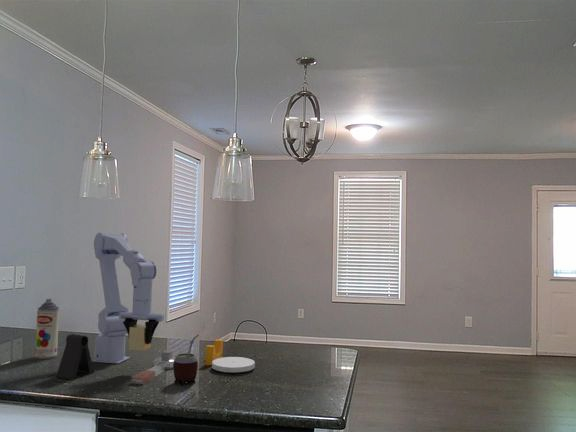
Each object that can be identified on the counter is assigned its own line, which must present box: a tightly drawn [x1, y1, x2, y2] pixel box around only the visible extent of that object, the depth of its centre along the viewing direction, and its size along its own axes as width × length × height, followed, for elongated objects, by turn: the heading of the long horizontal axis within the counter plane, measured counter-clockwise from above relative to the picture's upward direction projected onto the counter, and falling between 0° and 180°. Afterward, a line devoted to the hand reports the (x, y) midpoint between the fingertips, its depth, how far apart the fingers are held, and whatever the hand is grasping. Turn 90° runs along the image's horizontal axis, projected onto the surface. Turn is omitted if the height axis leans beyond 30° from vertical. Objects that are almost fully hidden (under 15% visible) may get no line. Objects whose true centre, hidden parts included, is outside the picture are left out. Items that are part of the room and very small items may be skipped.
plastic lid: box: [211, 356, 256, 373], centre depth 163 cm, size 14×14×2 cm
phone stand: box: [55, 333, 95, 381], centre depth 151 cm, size 9×6×12 cm, turn 156°
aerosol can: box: [34, 298, 60, 360], centre depth 171 cm, size 7×7×20 cm
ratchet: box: [130, 350, 176, 385], centre depth 155 cm, size 8×25×5 cm, turn 171°
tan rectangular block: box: [128, 324, 152, 352], centre depth 157 cm, size 5×5×7 cm
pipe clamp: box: [204, 338, 224, 366], centre depth 172 cm, size 12×4×6 cm, turn 172°
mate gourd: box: [172, 334, 199, 386], centre depth 146 cm, size 8×8×15 cm
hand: (140, 342), depth 157 cm, fingers closed on tan rectangular block, 5 cm apart
